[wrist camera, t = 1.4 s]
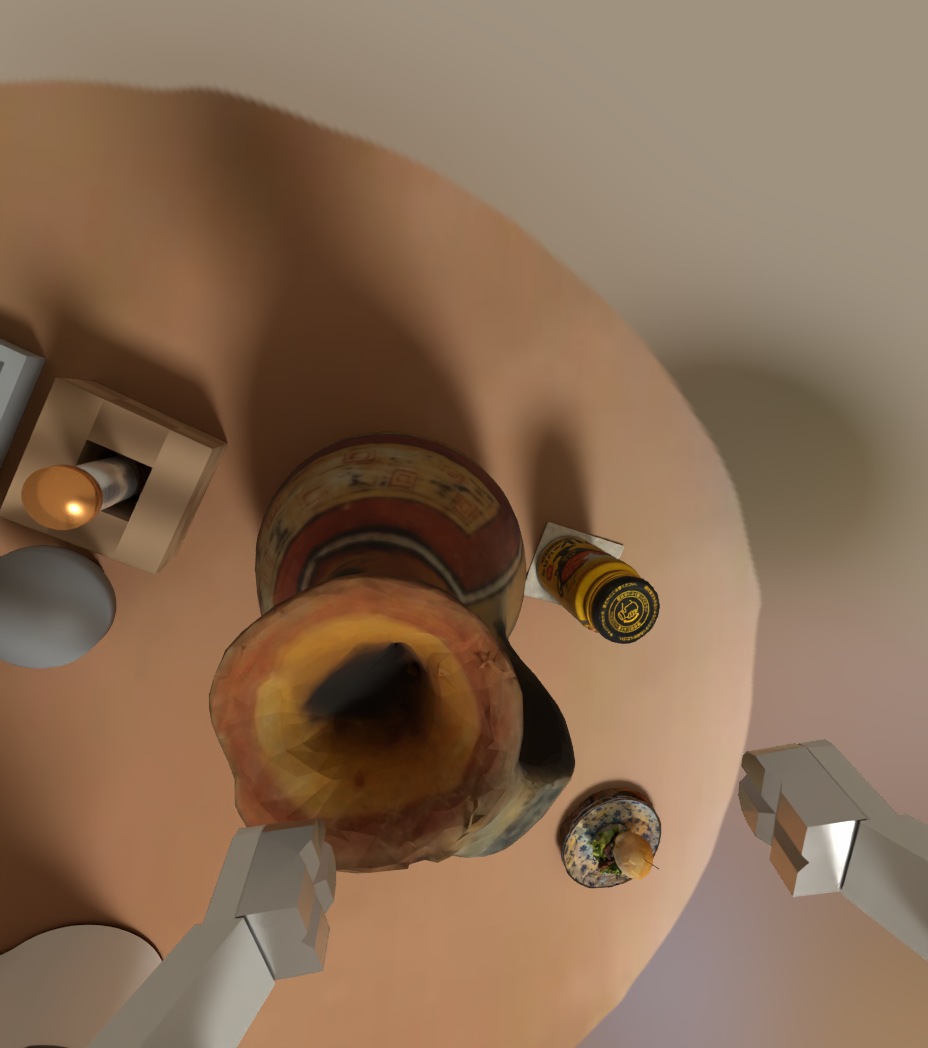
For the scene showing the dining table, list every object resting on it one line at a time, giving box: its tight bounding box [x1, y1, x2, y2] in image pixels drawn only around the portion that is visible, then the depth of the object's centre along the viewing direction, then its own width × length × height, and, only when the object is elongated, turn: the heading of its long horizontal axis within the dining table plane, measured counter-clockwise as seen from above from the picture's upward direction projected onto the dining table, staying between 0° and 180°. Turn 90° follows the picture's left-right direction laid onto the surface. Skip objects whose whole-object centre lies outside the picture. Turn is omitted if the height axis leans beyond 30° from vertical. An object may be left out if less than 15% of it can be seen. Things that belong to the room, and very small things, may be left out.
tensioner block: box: [0, 377, 228, 668], centre depth 37 cm, size 18×10×8 cm, turn 152°
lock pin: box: [21, 455, 152, 530], centre depth 35 cm, size 4×4×12 cm
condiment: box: [524, 522, 660, 644], centre depth 45 cm, size 7×8×12 cm
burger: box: [561, 788, 661, 888], centre depth 56 cm, size 12×12×8 cm
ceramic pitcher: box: [209, 431, 575, 873], centre depth 32 cm, size 20×20×30 cm
